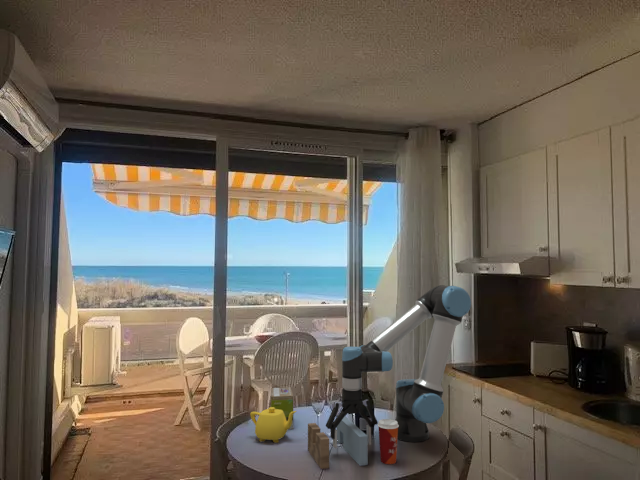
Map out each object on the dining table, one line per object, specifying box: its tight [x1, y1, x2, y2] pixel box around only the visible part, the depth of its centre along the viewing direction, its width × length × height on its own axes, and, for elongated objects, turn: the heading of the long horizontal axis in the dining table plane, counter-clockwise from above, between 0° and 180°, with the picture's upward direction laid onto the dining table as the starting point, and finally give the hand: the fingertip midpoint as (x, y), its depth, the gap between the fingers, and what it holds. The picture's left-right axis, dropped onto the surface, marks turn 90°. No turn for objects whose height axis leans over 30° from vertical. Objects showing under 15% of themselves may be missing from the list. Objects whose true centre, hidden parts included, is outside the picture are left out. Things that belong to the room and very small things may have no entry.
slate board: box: [336, 414, 369, 467], centre depth 180 cm, size 26×3×10 cm, turn 16°
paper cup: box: [377, 418, 399, 465], centre depth 171 cm, size 8×8×14 cm
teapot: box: [249, 406, 297, 444], centre depth 194 cm, size 13×20×12 cm
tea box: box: [270, 386, 294, 430], centre depth 212 cm, size 15×10×15 cm
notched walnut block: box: [307, 422, 330, 470], centre depth 173 cm, size 18×3×10 cm, turn 16°
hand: (352, 445), depth 179 cm, fingers open, 13 cm apart
